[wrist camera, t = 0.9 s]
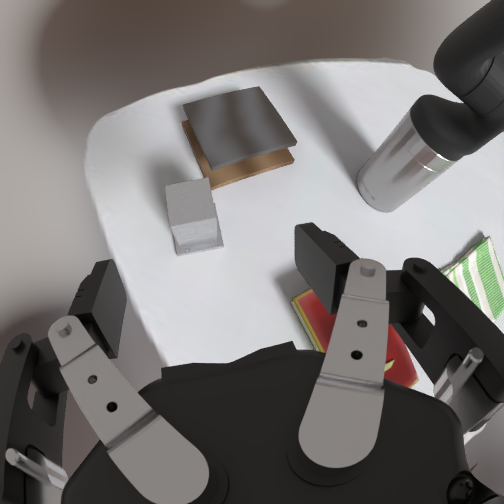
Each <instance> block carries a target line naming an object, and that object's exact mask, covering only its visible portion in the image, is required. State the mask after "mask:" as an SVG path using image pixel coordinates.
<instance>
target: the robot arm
mask: <svg viewBox="0 0 504 504" xmlns="http://www.w3.org/2000/svg"><path fill="white" fill-rule="evenodd" d="M433 66H434V72H435V74H436V76H437V78H438V79H439V80H440V82H441V83H442V84H443V85H444V86H445V87H446V88H447V89H449V90H450V91H451V92H452V93H453V94H454V95H456V96H457V97H458V98H459V99H460V100H461V101H463V102H464V103H457V102H452V101H449V100H446V99H443V98H441V97H438V96H435V95H423V96H421V97H420V98H419V99H418V100H417V101H416V102H415V103H414V105H413V106H412V107H411V108H410V110H409V111H408V112H407V113H406V115H405V116H404V117H403V118H402V120H401V121H400V122H399V124H398V125H397V126H396V127H395V128H394V130H393V131H392V132H391V133H390V135H389V136H388V137H387V138H386V140H385V141H384V142H383V143H382V144H381V146H380V147H379V148H378V149H377V151H376V152H375V153H374V154H373V155H372V157H371V158H370V159H369V160H368V161H367V163H366V164H365V165H364V166H363V167H362V169H361V170H360V171H359V173H358V176H357V185H358V189H359V191H360V194H361V195H362V197H363V198H364V200H365V201H366V202H367V203H368V204H369V205H370V206H372V207H373V208H375V209H376V210H379V211H382V212H391V211H393V210H395V209H397V208H398V207H399V206H401V205H402V204H403V203H405V202H406V201H407V200H409V199H410V198H411V197H413V196H414V195H415V194H417V193H418V192H419V191H420V190H422V189H423V188H424V187H426V186H427V185H428V184H430V183H431V182H432V181H433V180H435V179H436V178H437V177H438V176H440V175H441V174H442V173H443V172H445V171H446V170H447V169H448V168H449V167H451V166H452V165H453V164H454V163H456V162H457V161H458V160H459V159H461V158H462V157H463V156H465V155H469V154H472V153H474V152H476V151H477V150H478V149H480V148H481V147H482V146H484V145H485V144H486V143H488V142H489V141H490V140H492V139H493V138H495V137H496V136H497V135H499V134H500V133H501V132H503V131H504V0H491V1H490V2H489V3H487V4H486V5H485V6H483V7H482V8H481V9H480V10H478V11H477V12H476V13H474V14H473V15H472V16H470V17H469V18H468V19H467V20H466V21H464V22H463V23H462V24H460V25H459V26H458V27H457V28H456V29H455V30H454V31H453V32H451V34H449V35H448V36H447V38H446V39H445V40H444V41H443V43H442V44H441V45H440V47H439V48H438V50H437V52H436V55H435V58H434V65H433ZM295 262H296V266H297V268H298V270H299V271H300V273H301V274H302V276H303V277H304V279H305V280H306V281H307V283H308V284H309V286H310V287H311V289H312V290H313V291H314V293H315V294H316V296H317V297H318V299H319V300H320V301H321V303H322V304H323V306H324V307H325V309H326V310H327V312H328V313H329V315H334V314H337V317H336V321H335V324H334V328H333V332H332V335H331V339H330V342H329V346H328V349H327V353H324V352H319V351H314V350H297V349H296V347H295V345H294V343H293V341H290V342H286V343H282V344H279V345H275V346H271V347H267V348H263V349H260V350H257V351H255V352H253V353H251V354H249V355H247V356H244V357H242V358H240V359H238V360H235V361H233V362H231V363H190V364H184V365H177V366H171V367H165V368H161V372H162V378H160V379H158V380H156V381H154V382H152V383H150V384H148V385H147V386H145V387H144V388H143V389H141V390H140V391H139V392H138V393H137V392H136V391H135V390H134V389H133V387H132V386H131V385H130V384H129V383H128V382H127V380H126V379H125V378H124V377H123V376H122V375H121V373H120V372H119V371H118V370H117V369H116V367H115V366H114V365H113V364H112V362H111V361H110V360H109V359H114V358H117V357H118V350H119V342H120V336H121V329H122V324H123V318H124V313H125V307H126V302H127V299H126V292H125V289H124V286H123V283H122V281H121V278H120V275H119V273H118V270H117V267H116V264H115V262H114V260H113V259H110V260H104V261H100V262H96V263H95V266H94V268H93V270H92V273H91V275H88V276H87V277H86V278H85V279H84V280H83V281H82V282H81V284H80V286H79V288H78V292H77V293H76V295H75V298H74V300H73V302H72V305H71V307H70V310H69V312H68V315H67V316H65V317H63V318H60V319H59V320H57V321H56V322H55V323H54V324H53V325H52V326H51V328H50V330H49V333H48V337H47V338H45V339H42V340H39V341H37V342H34V340H33V339H32V337H31V336H30V335H29V334H27V333H22V334H19V335H17V336H16V337H14V338H13V339H12V340H11V341H10V343H9V344H8V346H7V348H6V351H5V353H4V356H3V359H2V362H1V364H0V504H504V496H503V495H501V494H499V493H497V492H495V491H493V490H491V489H489V488H488V487H486V486H485V485H483V484H482V483H481V482H479V481H478V480H477V479H476V478H475V477H474V476H473V475H472V473H471V471H470V469H469V466H468V463H467V459H466V455H465V449H464V438H463V435H464V434H466V433H467V432H468V431H469V432H473V431H477V430H478V429H480V428H481V427H482V426H483V425H484V424H485V423H486V422H488V421H489V420H490V419H491V418H492V417H493V416H494V415H495V414H496V413H497V412H498V411H499V410H500V409H501V408H502V407H503V406H504V334H503V333H502V332H501V331H500V330H499V328H498V327H497V326H496V325H495V324H494V323H493V322H492V321H491V320H490V319H489V318H488V317H487V316H486V315H485V314H484V313H483V312H482V311H481V310H480V309H479V308H478V306H477V305H476V304H474V303H473V302H472V301H471V300H470V299H469V298H468V297H467V296H466V295H465V294H464V293H463V292H462V291H461V290H460V289H459V288H458V287H457V286H456V285H455V284H454V283H453V282H451V281H450V280H449V279H448V278H447V277H446V276H445V275H444V274H443V273H441V272H440V271H439V270H438V269H437V268H436V267H435V266H433V265H432V264H431V263H430V262H428V261H426V260H424V259H421V258H408V259H406V260H405V261H404V264H403V268H402V270H386V269H385V267H384V266H383V265H382V264H381V263H379V262H378V261H375V260H372V259H360V258H359V257H358V256H357V255H356V254H355V253H354V252H353V251H351V250H350V249H349V248H348V247H347V246H346V245H345V244H344V243H343V242H341V241H340V240H339V239H338V238H337V237H336V236H335V235H333V234H331V233H329V232H326V231H322V230H321V229H319V228H318V227H317V226H316V225H315V224H314V223H313V222H311V223H305V224H299V225H296V226H295ZM425 305H426V306H427V307H428V308H429V309H430V310H431V311H432V313H433V314H434V317H435V326H433V324H432V323H431V322H430V321H429V320H428V319H427V317H426V316H425V315H424V314H423V313H422V311H423V308H424V306H425ZM388 324H391V325H392V327H393V328H394V329H395V331H396V332H397V333H398V335H399V336H400V337H401V339H402V340H403V342H404V343H405V344H406V346H407V347H408V348H409V350H410V351H411V353H412V354H413V355H414V357H415V358H416V360H417V361H418V363H419V364H420V365H421V367H422V368H423V370H424V371H425V373H426V374H427V376H428V377H429V378H430V380H431V381H432V383H433V384H434V389H433V391H434V396H435V397H432V396H429V395H427V394H424V393H421V392H419V391H416V390H413V389H411V388H408V387H406V386H403V385H401V384H398V383H396V382H393V381H391V380H388V379H386V378H384V371H385V361H386V351H387V338H388ZM30 385H31V386H33V388H34V389H35V390H36V393H35V398H34V403H33V408H32V409H31V408H30V406H29V404H28V400H27V395H28V390H29V386H30ZM68 390H70V391H71V393H72V394H73V396H74V398H75V400H76V402H77V403H78V405H79V407H80V408H81V410H82V412H83V413H84V415H85V417H86V418H87V420H88V421H89V423H90V424H91V426H92V427H93V429H94V431H95V432H96V433H97V435H98V436H99V438H100V440H99V442H98V443H97V444H96V445H95V447H94V448H93V449H92V450H91V452H90V453H89V454H88V456H87V457H86V458H85V459H84V461H83V462H82V463H81V464H80V466H79V467H78V468H77V470H76V471H75V472H74V473H73V475H72V476H71V477H70V479H69V480H68V478H67V475H66V473H65V471H64V470H63V468H62V446H63V429H64V417H65V408H66V400H67V392H68Z"/></svg>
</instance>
